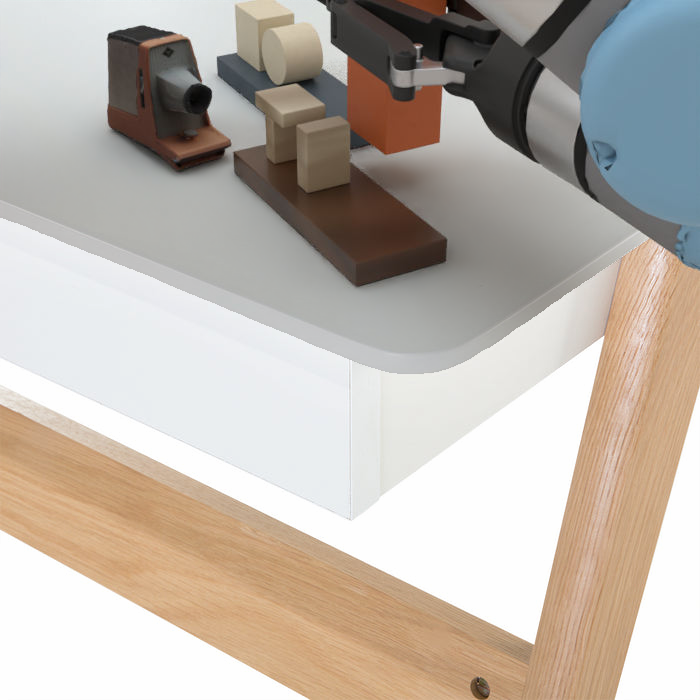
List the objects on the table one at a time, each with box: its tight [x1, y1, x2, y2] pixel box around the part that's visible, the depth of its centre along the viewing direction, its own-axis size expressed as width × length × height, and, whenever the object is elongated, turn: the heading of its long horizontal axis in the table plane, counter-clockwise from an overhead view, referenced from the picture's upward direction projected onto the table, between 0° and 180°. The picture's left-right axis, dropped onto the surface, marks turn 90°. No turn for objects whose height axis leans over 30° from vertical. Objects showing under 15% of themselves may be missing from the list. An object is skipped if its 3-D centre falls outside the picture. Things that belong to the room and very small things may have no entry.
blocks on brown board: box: [232, 84, 448, 287], centre depth 75 cm, size 16×6×6 cm, turn 29°
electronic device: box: [106, 24, 233, 171], centre depth 82 cm, size 4×10×8 cm, turn 39°
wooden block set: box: [216, 0, 371, 150], centre depth 88 cm, size 16×6×6 cm, turn 29°
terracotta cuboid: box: [346, 0, 447, 156], centre depth 75 cm, size 5×4×15 cm
